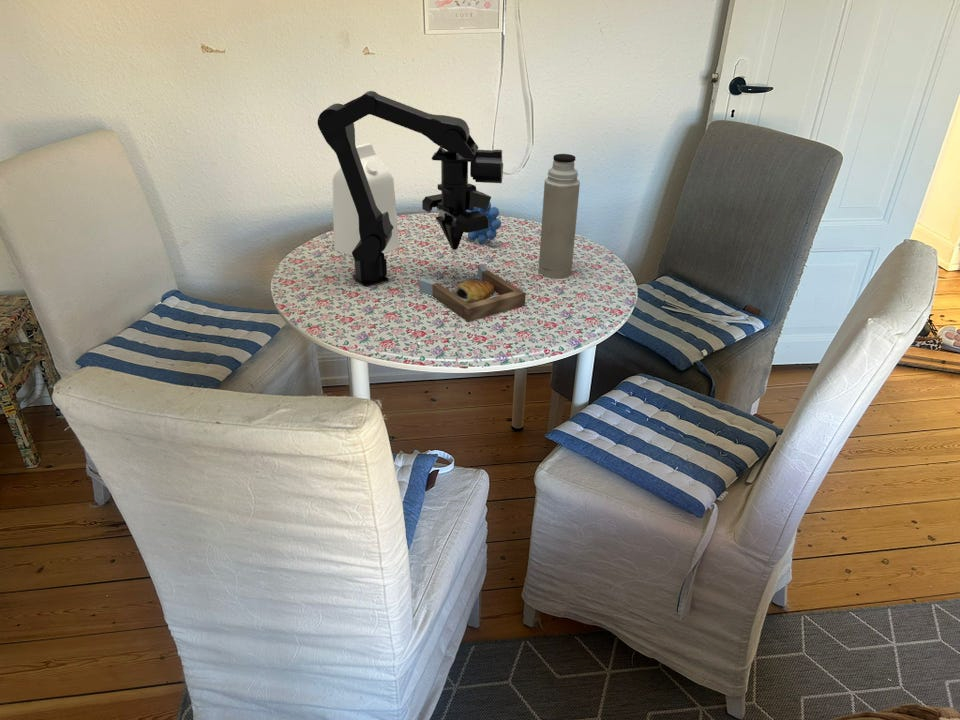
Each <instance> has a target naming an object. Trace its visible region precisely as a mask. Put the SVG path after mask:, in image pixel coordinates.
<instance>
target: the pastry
mask: <svg viewBox="0 0 960 720" xmlns="http://www.w3.org/2000/svg"><path fill="white" fill-rule="evenodd" d="M494 292H495V291H494V286H493V285H492V284H490V283H489V282H487V281H480V280H466V281H465V282H464V281H463V282H460V283H459V284H458V285H457V286H456V287H455V288H454V290H453V292H452V293H454V294H455V295H457V296H458V297H460V298H461V299H463V300H464V301H466V302H467V303H468V304H470V303H474V302H477V301H481V300H485V299H488V297H489V298H491V295H492V294H493V295H494ZM493 295H492V296H493Z"/></svg>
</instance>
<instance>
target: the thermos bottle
mask: <svg viewBox="0 0 960 720" xmlns="http://www.w3.org/2000/svg"><path fill="white" fill-rule="evenodd" d="M552 158H553V161H552V167H550V168H549V169H548V170H547V171H548V172H547V177H546V178H545V179H544V187H543V198H542V199H543V200H542V216H541V227H540V228H541V231H540V241H539V242H540V245H539V258H538V259H539V261H538V273H539V274H540V275H541V274H542V276H543V275H544V277H546V278H551V279H565V278H568V277H569V276H571V274H572V272H573V260H574V259H573V258H574V249H575V236H576V227H577V218H578V207H579V194H580V186H581V183H580V180H579V179H578V176H579V173H578V170H577V169H575V161H576V156H575V155H573V154H568V153H558V154H554V155H553V156H552Z"/></svg>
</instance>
